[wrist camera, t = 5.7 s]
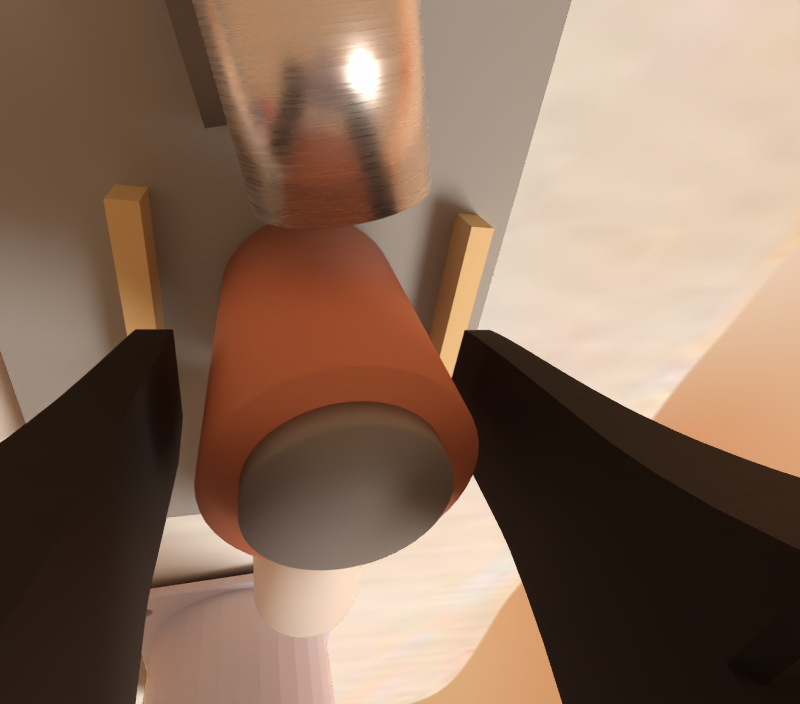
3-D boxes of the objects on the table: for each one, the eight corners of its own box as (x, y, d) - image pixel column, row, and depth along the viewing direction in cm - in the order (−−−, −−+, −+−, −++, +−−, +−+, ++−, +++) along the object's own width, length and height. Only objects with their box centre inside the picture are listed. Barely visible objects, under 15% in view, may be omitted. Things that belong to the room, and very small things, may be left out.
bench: (423, 469, 19) (477, 604, 14) (71, 502, 15) (1, 697, 11) (560, -47, 10) (793, -98, 6) (-170, -258, 7) (-978, -802, 2)
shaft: (407, 139, 11) (489, 199, 7) (226, 169, 10) (216, 251, 6) (385, -146, 8) (499, -283, 4) (135, -130, 7) (31, -274, 4)
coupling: (387, 364, 14) (463, 567, 9) (229, 373, 13) (211, 612, 8) (403, 217, 11) (521, 378, 6) (210, 213, 10) (163, 404, 5)
